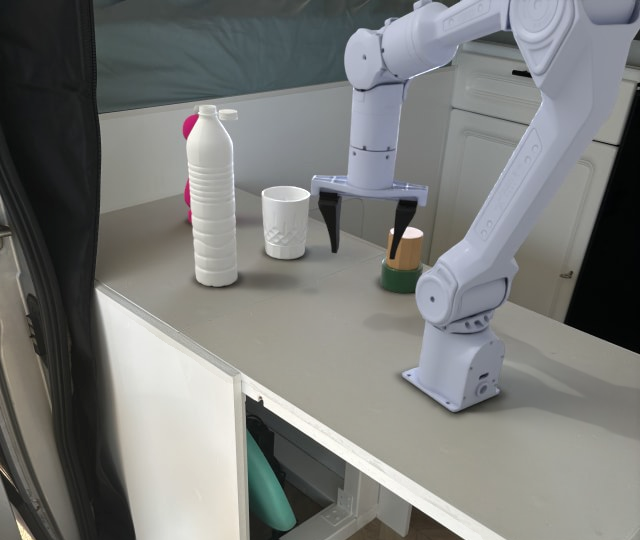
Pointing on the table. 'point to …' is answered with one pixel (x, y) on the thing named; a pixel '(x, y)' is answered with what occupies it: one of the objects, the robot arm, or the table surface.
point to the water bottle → (212, 197)
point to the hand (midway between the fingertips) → (363, 253)
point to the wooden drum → (406, 250)
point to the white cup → (285, 221)
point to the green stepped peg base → (400, 278)
